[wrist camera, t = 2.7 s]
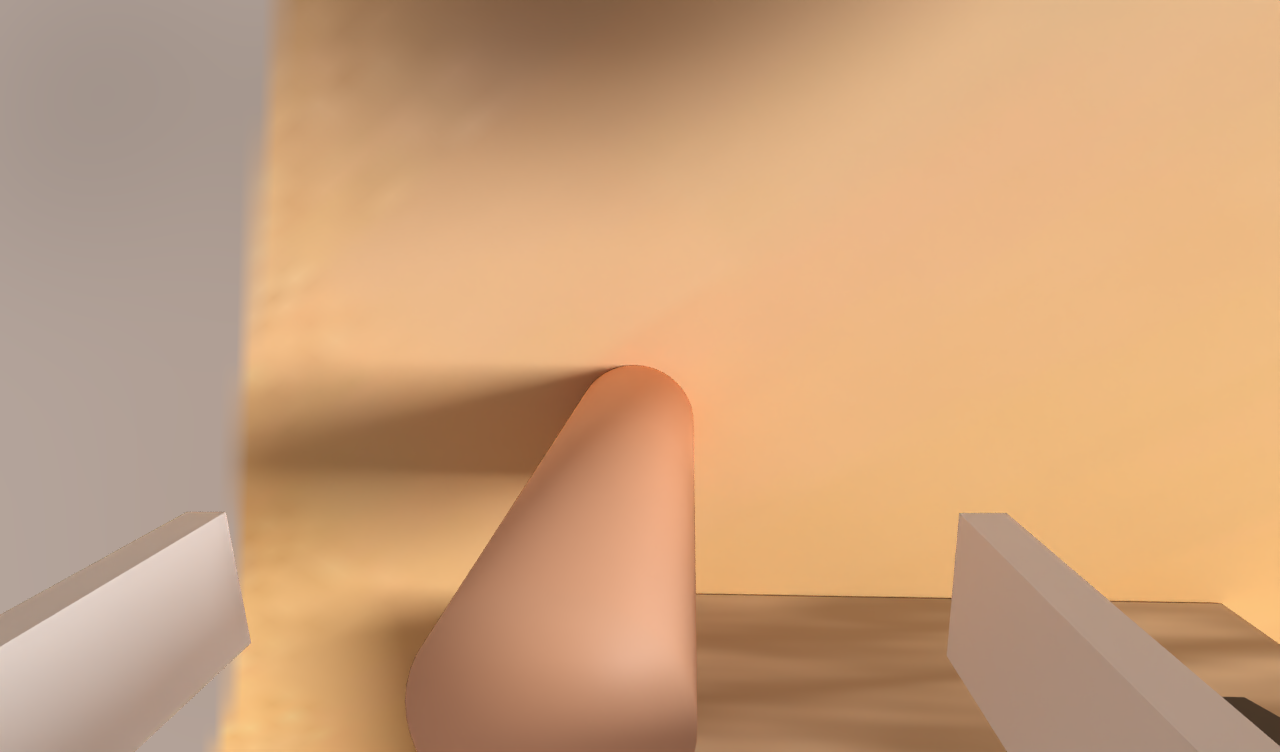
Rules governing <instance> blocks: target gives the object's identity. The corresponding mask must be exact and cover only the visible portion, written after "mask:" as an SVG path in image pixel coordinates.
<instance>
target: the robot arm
mask: <svg viewBox="0 0 1280 752" xmlns="http://www.w3.org/2000/svg"><path fill="white" fill-rule="evenodd" d="M250 643H251V641H250V635H249V630H248V625H247V620H246V615H245V609H244V604H243V599H242V594H241V589H240V584H239V578H238V573H237V568H236V563H235V558H234V552H233V547H232V542H231V537H230V532H229V527H228V521H227V516H226V512H186V513H184V514H182V515H180V516H178V517H177V518H175V519H173V520H171V521H169V522H168V523H166V524H164V525H162V526H160V527H159V528H157V529H155V530H153V531H151V532H149V533H148V534H146V535H144V536H142V537H140V538H139V539H137V540H135V541H133V542H131V543H130V544H128V545H126V546H124V547H122V548H120V549H119V550H117V551H115V552H113V553H111V554H110V555H108V556H106V557H104V558H102V559H101V560H99V561H97V562H95V563H93V564H91V565H90V566H88V567H86V568H84V569H82V570H80V571H79V572H77V573H75V574H73V575H71V576H70V577H68V578H66V579H64V580H62V581H61V582H59V583H57V584H55V585H53V586H52V587H50V588H48V589H46V590H44V591H42V592H41V593H39V594H37V595H35V596H34V597H31V598H30V599H28V600H26V601H24V602H22V603H21V604H19V605H17V606H15V607H13V608H12V609H10V610H8V611H6V612H4V613H3V614H1V615H0V752H135V751H136V750H137V749H138V748H139V747H140V746H141V745H142V744H143V743H144V742H146V741H147V740H148V739H149V738H150V737H151V736H152V735H153V734H154V733H155V732H156V731H157V730H158V729H159V728H160V727H161V726H163V724H165V723H166V722H167V721H168V720H169V719H170V718H171V717H172V716H173V715H174V714H175V713H177V712H178V711H179V710H180V709H181V708H182V707H183V706H184V705H185V704H186V703H187V702H188V701H189V700H190V699H192V697H194V696H195V695H196V694H197V693H198V692H199V691H200V690H201V689H202V688H203V687H204V686H205V685H206V684H208V683H209V682H210V681H211V680H212V679H213V678H214V677H215V676H216V675H217V674H218V673H219V672H220V671H221V670H223V669H224V668H225V667H226V666H227V665H228V664H229V663H230V662H231V661H232V660H233V659H234V658H235V657H236V656H237V655H239V654H240V653H241V652H242V651H243V650H244V649H245V648H246V647H247V646H248V645H249V644H250ZM947 657H948V659H949V660H950V662H951V664H952V665H953V667H954V668H955V670H956V671H957V673H958V675H959V676H960V678H961V679H962V681H963V683H964V684H965V686H966V687H967V689H968V691H969V692H970V694H971V695H972V697H973V698H974V700H975V702H976V703H977V705H978V706H979V708H980V710H981V711H982V713H983V714H984V716H985V718H986V719H987V721H988V722H989V724H990V726H991V727H992V729H993V730H994V732H995V733H996V735H997V737H998V738H999V740H1000V741H1001V743H1002V745H1003V746H1004V748H1005V749H1006V751H1007V752H1280V717H1279V716H1277V715H1275V714H1273V713H1272V712H1270V711H1268V710H1266V709H1265V708H1263V707H1261V706H1259V705H1257V704H1256V703H1254V702H1252V701H1250V700H1249V699H1247V698H1245V697H1221V696H1220V695H1219V694H1218V693H1217V692H1216V691H1214V690H1213V689H1212V688H1211V687H1210V686H1209V685H1207V684H1206V683H1205V682H1204V681H1203V680H1202V679H1200V678H1199V677H1198V676H1197V675H1196V674H1195V673H1193V672H1192V671H1191V670H1190V669H1189V668H1187V667H1186V666H1185V665H1184V664H1183V663H1182V662H1180V661H1179V660H1178V659H1177V658H1176V657H1175V656H1173V655H1172V654H1171V653H1170V652H1169V651H1168V650H1166V649H1165V648H1164V647H1163V646H1162V645H1160V644H1159V643H1158V642H1157V641H1156V640H1155V639H1153V638H1152V637H1151V636H1150V635H1149V634H1148V633H1146V632H1145V631H1144V630H1143V629H1142V628H1141V627H1139V626H1138V625H1137V624H1136V623H1135V622H1133V621H1132V620H1131V619H1130V618H1129V617H1128V616H1126V615H1125V614H1124V613H1123V612H1122V611H1121V610H1119V609H1118V608H1117V607H1116V606H1115V605H1114V604H1112V603H1111V602H1110V601H1109V600H1108V599H1107V598H1105V597H1104V596H1103V595H1102V594H1101V593H1099V592H1098V591H1097V590H1096V589H1095V588H1094V587H1092V586H1091V585H1090V584H1089V583H1088V582H1087V581H1085V580H1084V579H1083V578H1082V577H1081V576H1080V575H1078V574H1077V573H1076V572H1075V571H1074V570H1072V569H1071V568H1070V567H1069V566H1068V565H1067V564H1065V563H1064V562H1063V561H1062V560H1061V559H1060V558H1058V557H1057V556H1056V555H1055V554H1054V553H1053V552H1051V551H1050V550H1049V549H1048V548H1047V547H1046V546H1044V545H1043V544H1042V543H1041V542H1040V541H1038V540H1037V539H1036V538H1035V537H1034V536H1033V535H1031V534H1030V533H1029V532H1028V531H1027V530H1026V529H1024V528H1023V527H1022V526H1021V525H1020V524H1019V523H1017V522H1016V521H1015V520H1014V519H1013V518H1011V517H1010V516H1009V515H1008V514H1007V513H959V523H958V534H957V545H956V556H955V567H954V579H953V590H952V601H951V612H950V623H949V635H948V646H947Z"/></svg>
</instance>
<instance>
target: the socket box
mask: <svg viewBox="0 0 1280 752" xmlns="http://www.w3.org/2000/svg"><path fill="white" fill-rule="evenodd" d="M951 601H952V599H936V598H880V597H823V596H766V595H710V594H696V653H697V742H696V748H695V752H1007V751H1006V749H1005V748H1004V746H1003V745H1002V743H1001V741H1000V740H999V738H998V737H997V735H996V733H995V732H994V730H993V729H992V727H991V726H990V724H989V722H988V721H987V719H986V718H985V716H984V714H983V713H982V711H981V710H980V708H979V706H978V705H977V703H976V702H975V700H974V698H973V697H972V695H971V694H970V692H969V691H968V689H967V687H966V686H965V684H964V683H963V681H962V679H961V678H960V676H959V675H958V673H957V671H956V670H955V668H954V667H953V665H952V664H951V662H950V660H949V659H948V657H947V646H948V635H949V623H950V612H951ZM1111 603H1112V604H1114V605H1115V606H1116V607H1117V608H1118V609H1119V610H1121V611H1122V612H1123V613H1124V614H1125V615H1126V616H1128V617H1129V618H1130V619H1131V620H1132V621H1133V622H1135V623H1136V624H1137V625H1138V626H1139V627H1141V628H1142V629H1143V630H1144V631H1145V632H1146V633H1148V634H1149V635H1150V636H1151V637H1152V638H1153V639H1155V640H1156V641H1157V642H1158V643H1159V644H1160V645H1162V646H1163V647H1164V648H1165V649H1166V650H1168V651H1169V652H1170V653H1171V654H1172V655H1173V656H1175V657H1176V658H1177V659H1178V660H1179V661H1180V662H1182V663H1183V664H1184V665H1185V666H1186V667H1187V668H1189V669H1190V670H1191V671H1192V672H1193V673H1195V674H1196V675H1197V676H1198V677H1199V678H1200V679H1202V680H1203V681H1204V682H1205V683H1206V684H1207V685H1209V686H1210V687H1211V688H1212V689H1213V690H1214V691H1216V692H1217V693H1218V694H1219V695H1220V696H1221V697H1245V698H1247V699H1249V700H1250V701H1252V702H1254V703H1256V704H1257V705H1259V706H1261V707H1263V708H1265V709H1266V710H1268V711H1270V712H1272V713H1273V714H1275V715H1277V716H1279V717H1280V644H1278V643H1277V642H1275V641H1274V640H1273V639H1271V638H1270V637H1268V636H1267V635H1266V634H1264V633H1263V632H1261V631H1260V630H1258V629H1257V628H1256V627H1254V626H1253V625H1251V624H1250V623H1248V622H1247V621H1246V620H1244V619H1243V618H1241V617H1240V616H1239V615H1237V614H1236V613H1234V612H1233V611H1231V610H1230V609H1229V608H1227V607H1226V606H1224V605H1223V604H1220V603H1163V602H1111Z"/></svg>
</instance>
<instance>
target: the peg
mask: <svg viewBox="0 0 1280 752" xmlns="http://www.w3.org/2000/svg"><path fill="white" fill-rule="evenodd" d="M405 705H406V718H407V722H408V727H409V731H410V735H411V737H412V740H413V743H414V746H415V748H416V750H417V752H695V748H696V742H697V653H696V580H695V506H694V432H693V413H692V408H691V405H690V402H689V400H688V398H687V396H686V394H685V392H684V391H683V390H682V388H681V387H680V386H679V385H678V384H677V383H676V382H675V381H674V380H673V379H672V378H671V377H669V376H668V375H666V374H664V373H663V372H661V371H659V370H656V369H653V368H650V367H646V366H637V365H631V366H623V367H618V368H616V369H613V370H610V371H608V372H606V373H604V374H603V375H602V376H600V377H599V378H598V379H596V380H595V381H594V382H593V383H592V384H591V386H590V387H589V388H588V390H587V391H586V393H585V394H584V396H583V397H582V399H581V400H580V402H579V403H578V405H577V407H576V408H575V410H574V411H573V413H572V414H571V416H570V417H569V419H568V420H567V422H566V424H565V425H564V427H563V428H562V430H561V431H560V433H559V434H558V436H557V437H556V439H555V441H554V442H553V444H552V445H551V447H550V448H549V450H548V451H547V453H546V454H545V456H544V458H543V459H542V461H541V462H540V464H539V465H538V467H537V468H536V470H535V471H534V473H533V474H532V476H531V478H530V479H529V481H528V482H527V484H526V485H525V487H524V488H523V490H522V491H521V493H520V495H519V496H518V498H517V499H516V501H515V502H514V504H513V505H512V507H511V508H510V510H509V512H508V513H507V515H506V516H505V518H504V519H503V521H502V522H501V524H500V525H499V527H498V529H497V530H496V532H495V533H494V535H493V536H492V538H491V539H490V541H489V542H488V544H487V546H486V547H485V549H484V550H483V552H482V553H481V555H480V556H479V558H478V559H477V561H476V563H475V564H474V566H473V567H472V569H471V570H470V572H469V573H468V575H467V576H466V578H465V580H464V581H463V583H462V584H461V586H460V587H459V589H458V590H457V592H456V593H455V595H454V597H453V598H452V600H451V601H450V603H449V604H448V606H447V607H446V609H445V610H444V612H443V614H442V615H441V617H440V618H439V620H438V621H437V623H436V624H435V626H434V627H433V629H432V631H431V632H430V634H429V635H428V637H427V638H426V640H425V641H424V643H423V645H422V646H421V648H420V649H419V651H418V653H417V654H416V657H415V659H414V661H413V664H412V666H411V669H410V672H409V677H408V681H407V685H406V697H405Z"/></svg>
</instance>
